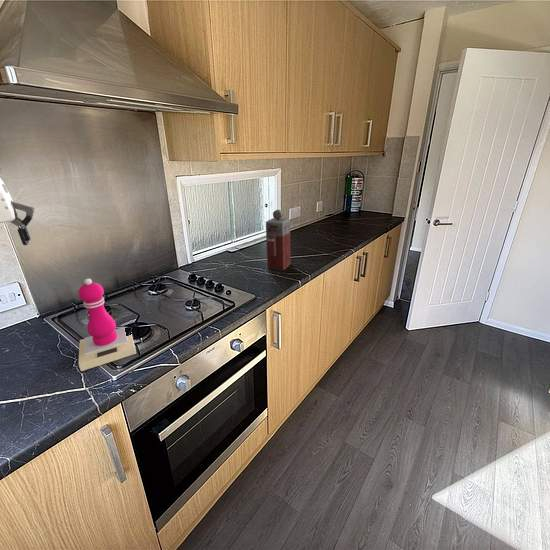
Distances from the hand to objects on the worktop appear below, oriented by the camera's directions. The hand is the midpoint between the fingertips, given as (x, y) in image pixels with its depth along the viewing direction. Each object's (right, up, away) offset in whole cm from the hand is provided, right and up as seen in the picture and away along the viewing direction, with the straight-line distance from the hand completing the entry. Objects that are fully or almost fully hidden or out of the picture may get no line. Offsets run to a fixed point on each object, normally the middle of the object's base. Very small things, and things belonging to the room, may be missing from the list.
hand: (1, 247), depth 70 cm
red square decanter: (+67, -3, +76) cm, 102 cm away
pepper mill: (+15, -26, +18) cm, 35 cm away
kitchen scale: (+15, -29, +18) cm, 38 cm away
